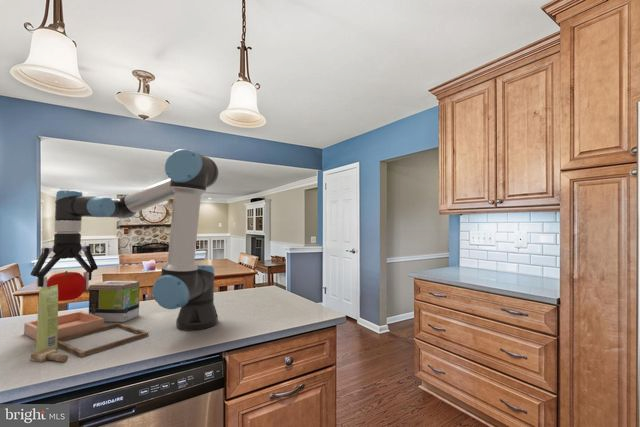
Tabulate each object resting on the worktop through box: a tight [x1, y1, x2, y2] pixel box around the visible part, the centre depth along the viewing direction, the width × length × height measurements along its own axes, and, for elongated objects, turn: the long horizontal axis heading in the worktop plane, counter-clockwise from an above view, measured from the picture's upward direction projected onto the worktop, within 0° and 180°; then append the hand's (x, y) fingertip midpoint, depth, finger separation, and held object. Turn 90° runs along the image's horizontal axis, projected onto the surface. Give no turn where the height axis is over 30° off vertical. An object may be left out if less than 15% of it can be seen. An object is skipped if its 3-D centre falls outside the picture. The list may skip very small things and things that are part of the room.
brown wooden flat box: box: [23, 311, 105, 341], centre depth 110 cm, size 18×17×4 cm
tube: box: [35, 285, 59, 352], centre depth 94 cm, size 6×5×20 cm
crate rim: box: [57, 322, 149, 358], centre depth 103 cm, size 20×20×1 cm
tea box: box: [88, 280, 140, 323], centre depth 126 cm, size 15×10×15 cm, turn 84°
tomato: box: [47, 270, 85, 302], centre depth 111 cm, size 11×12×10 cm
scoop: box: [29, 348, 69, 363], centre depth 88 cm, size 10×4×2 cm, turn 75°
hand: (65, 292), depth 111 cm, fingers closed on tomato, 12 cm apart
